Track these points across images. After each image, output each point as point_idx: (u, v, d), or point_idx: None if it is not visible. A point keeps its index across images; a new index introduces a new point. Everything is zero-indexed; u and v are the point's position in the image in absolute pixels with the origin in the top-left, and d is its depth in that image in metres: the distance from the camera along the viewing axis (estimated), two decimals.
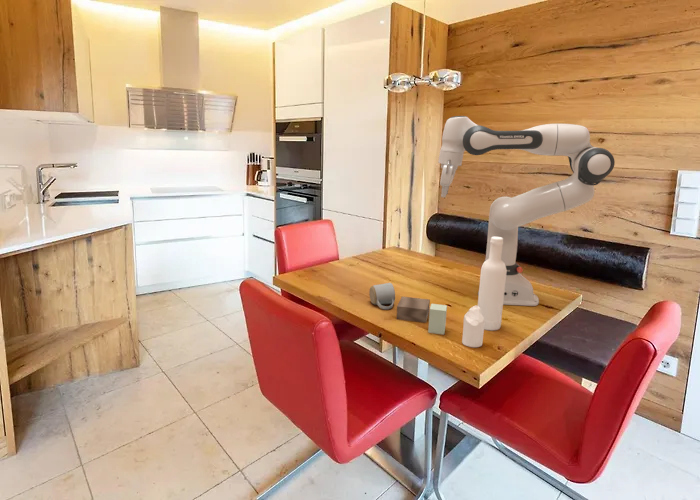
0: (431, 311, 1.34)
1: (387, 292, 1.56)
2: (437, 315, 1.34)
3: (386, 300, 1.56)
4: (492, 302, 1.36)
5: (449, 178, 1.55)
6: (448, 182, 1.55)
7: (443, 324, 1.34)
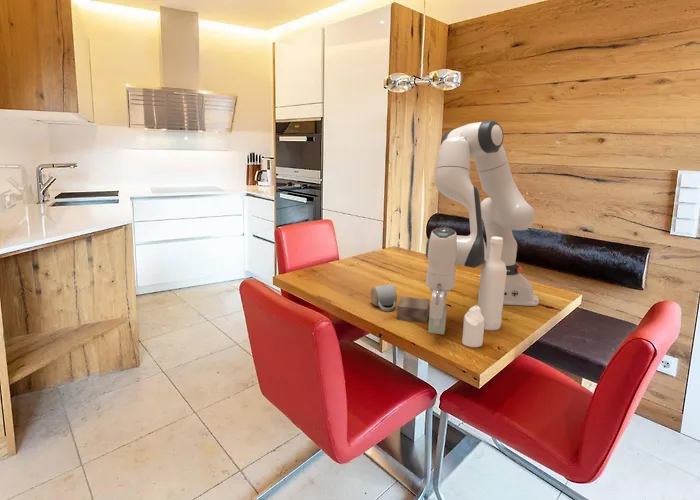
0: None
1: (389, 293, 1.54)
2: None
3: (387, 301, 1.55)
4: (492, 302, 1.36)
5: (440, 310, 1.25)
6: (440, 315, 1.26)
7: (443, 324, 1.34)
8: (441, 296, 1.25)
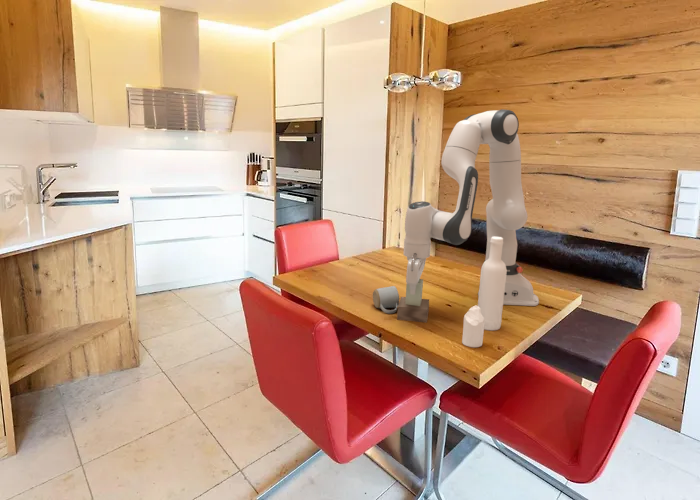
0: (408, 284, 1.45)
1: (391, 296, 1.52)
2: None
3: (390, 304, 1.53)
4: (492, 302, 1.36)
5: (415, 276, 1.35)
6: (415, 281, 1.36)
7: (419, 296, 1.44)
8: (416, 263, 1.36)
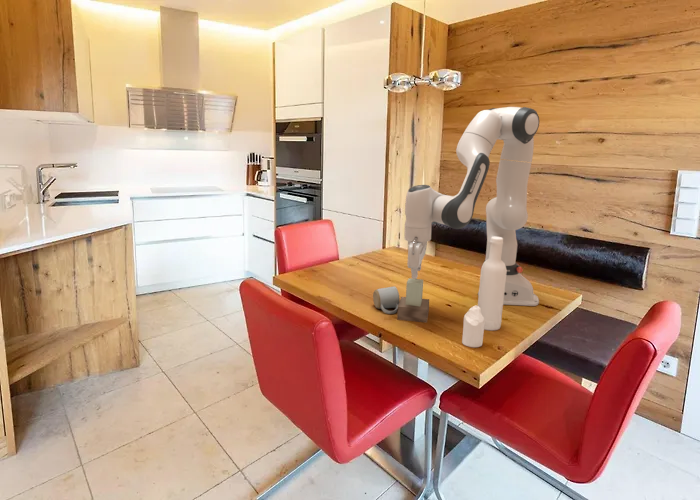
0: (408, 284, 1.44)
1: (391, 296, 1.52)
2: (413, 288, 1.44)
3: (390, 304, 1.52)
4: (492, 302, 1.36)
5: (417, 260, 1.34)
6: (416, 264, 1.34)
7: (419, 296, 1.44)
8: (417, 247, 1.34)
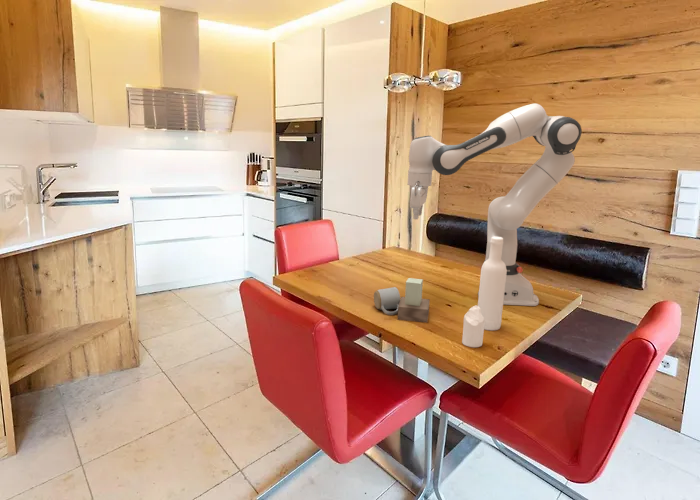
0: (407, 284, 1.45)
1: (392, 297, 1.51)
2: (412, 288, 1.44)
3: (391, 305, 1.52)
4: (492, 302, 1.36)
5: (418, 200, 1.52)
6: (418, 204, 1.52)
7: (418, 296, 1.44)
8: (419, 188, 1.52)
